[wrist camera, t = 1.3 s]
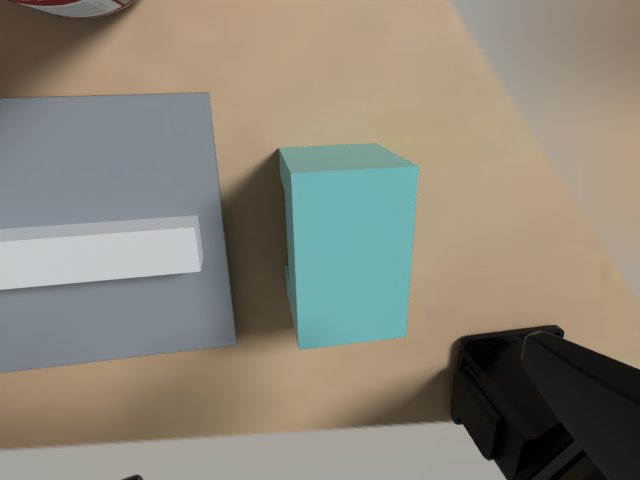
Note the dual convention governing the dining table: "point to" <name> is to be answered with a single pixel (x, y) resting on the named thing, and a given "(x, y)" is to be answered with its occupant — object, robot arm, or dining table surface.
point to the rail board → (112, 186)
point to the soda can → (77, 7)
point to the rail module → (348, 242)
